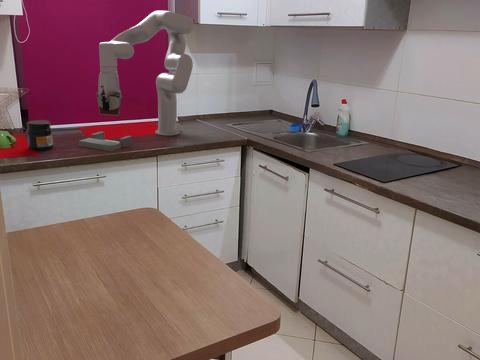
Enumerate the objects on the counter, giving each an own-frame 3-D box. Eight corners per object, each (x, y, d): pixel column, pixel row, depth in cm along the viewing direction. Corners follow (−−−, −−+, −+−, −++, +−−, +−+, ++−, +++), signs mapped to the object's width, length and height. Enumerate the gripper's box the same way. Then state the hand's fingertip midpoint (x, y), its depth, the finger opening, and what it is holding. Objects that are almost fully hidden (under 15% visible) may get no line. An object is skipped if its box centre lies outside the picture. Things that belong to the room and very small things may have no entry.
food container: (126, 113, 227) (126, 92, 224) (121, 115, 221) (120, 94, 218) (102, 111, 228) (101, 90, 225) (96, 114, 222) (95, 92, 219)
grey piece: (101, 139, 235) (101, 131, 234) (132, 144, 228) (131, 136, 227) (79, 145, 221) (78, 137, 220) (111, 151, 214) (110, 142, 213)
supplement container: (55, 149, 213) (53, 123, 209) (30, 152, 208) (28, 125, 204) (50, 144, 221) (48, 119, 218) (26, 146, 216) (23, 120, 212)
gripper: (114, 68, 227) (115, 106, 232) (89, 70, 212) (91, 111, 217) (127, 69, 224) (128, 107, 229) (102, 72, 209) (104, 112, 214)
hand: (110, 109), depth 223 cm, fingers closed on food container, 5 cm apart
